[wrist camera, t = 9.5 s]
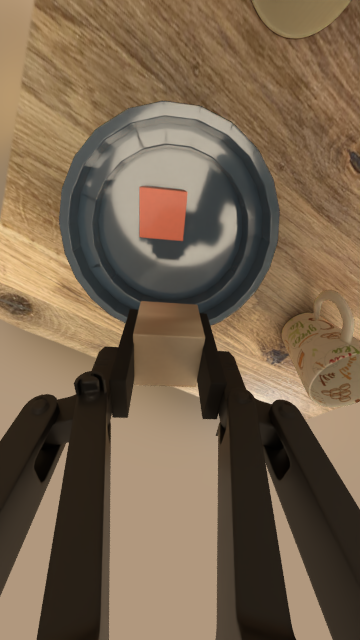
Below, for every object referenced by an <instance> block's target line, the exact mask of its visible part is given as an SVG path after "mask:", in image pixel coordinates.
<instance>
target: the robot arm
mask: <svg viewBox="0 0 360 640" xmlns="http://www.w3.org/2000/svg"><path fill="white" fill-rule="evenodd" d="M138 311H139V310H136V309H130V310H129V314H128V317H127V320H126V324H125V327H124V330H123V334H122V337H121V341H120V344H119V347H104V348H103V349H102V350H101V351H100V352H99V354H98V356H97V359H96V361H95V364H94V366H93V369H92V371H89V372H85V373H83V374H82V375H80V376H79V377H78V378H77V379H76V380H75V382H74V386H75V390H76V395H74V396H71V397H68V398H63V399H58V400H57V399H56V398H55V397H54V396H53V395H49V394H46V395H40V396H37V397H35V398H33V399H31V400H30V401H29V402H28V403H27V404H26V405H25V406H24V407H23V409H22V410H21V412H20V413H19V415H18V416H17V418H16V419H15V421H14V422H13V423H12V425H11V426H10V428H9V429H8V431H7V432H6V434H5V435H4V436H3V438H2V439H1V441H0V595H1V593H2V591H3V588H4V586H5V584H6V581H7V579H8V577H9V574H10V572H11V570H12V567H13V565H14V563H15V561H16V558H17V556H18V553H19V551H20V549H21V547H22V544H23V542H24V540H25V537H26V535H27V533H28V530H29V528H30V526H31V523H32V521H33V519H34V516H35V514H36V512H37V509H38V507H39V505H40V502H41V500H42V497H43V495H44V493H45V491H46V488H47V486H48V484H49V481H50V479H51V477H52V474H53V472H54V470H55V467H56V465H57V463H58V461H59V458H60V456H61V453H62V451H63V449H64V447H65V444H66V443H67V442H69V446H68V452H67V458H66V465H65V470H64V477H63V483H62V489H61V495H60V501H59V507H58V513H57V519H56V525H55V531H54V537H53V543H52V549H51V556H50V562H49V568H48V574H47V580H46V586H45V592H44V598H43V604H42V611H41V616H40V622H39V628H38V635H37V640H109V557H110V556H109V555H110V554H109V553H110V454H111V453H110V452H111V423H110V419H111V415H113V417H119V418H120V417H121V418H127V417H128V413H129V407H130V400H131V395H132V389H133V383H134V343H133V332H134V328H135V324H136V319H137V315H138ZM199 314H200V318H201V322H202V327H203V331H204V335H205V342H204V346H203V351H202V356H201V361H200V367H199V372H198V377H197V383H198V389H199V396H200V403H201V410H202V417H203V419H217V416H218V413H219V417H220V423H219V426H218V430H217V433H216V436H218V542H217V545H218V546H217V550H218V551H217V631H216V640H296V638H295V636H294V633H293V629H292V624H291V619H290V613H289V607H288V601H287V595H286V588H285V582H284V576H283V570H282V564H281V557H280V551H279V545H278V539H277V532H276V526H275V520H274V514H273V508H272V501H271V495H270V489H269V483H268V477H267V471H266V465H267V468H268V471H269V473H270V476H271V478H272V481H273V484H274V486H275V489H276V491H277V494H278V497H279V499H280V502H281V505H282V508H283V510H284V512H285V515H286V518H287V521H288V523H289V526H290V529H291V531H292V534H293V536H294V539H295V542H296V544H297V547H298V549H299V552H300V555H301V557H302V560H303V563H304V565H305V568H306V571H307V573H308V576H309V578H310V581H311V584H312V586H313V589H314V591H315V594H316V597H317V600H318V602H319V605H320V607H321V610H322V613H323V615H324V618H325V621H326V623H327V626H328V628H329V631H330V634H331V636H332V639H333V640H360V509H359V508H358V506H357V504H356V503H355V501H354V499H353V498H352V496H351V494H350V493H349V491H348V490H347V488H346V486H345V485H344V483H343V481H342V480H341V478H340V476H339V475H338V474H337V472H336V470H335V468H334V467H333V465H332V463H331V462H330V460H329V458H328V457H327V455H326V454H325V452H324V450H323V449H322V447H321V445H320V444H319V442H318V440H317V439H316V437H315V436H314V434H313V432H312V431H311V429H310V427H309V426H308V424H307V422H306V421H305V419H304V418H303V416H302V414H301V413H300V411H299V410H298V409H297V407H296V406H295V405H293V404H292V403H290V402H288V401H286V400H276V401H274V402H273V404H269V403H265V402H262V401H259V400H257V399H255V398H254V396H253V395H252V394H251V393H250V392H249V391H248V390H246V388H245V385H244V383H243V380H242V377H241V374H240V372H239V370H238V366H237V365H236V361H235V358H234V357H233V356H232V354H231V353H230V352H226V351H217V347H216V344H215V340H214V337H213V333H212V330H211V327H210V323H209V320H208V316H207V314H205V313H199ZM265 463H266V464H265Z"/></svg>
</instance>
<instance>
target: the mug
mask: <svg viewBox="0 0 360 640" xmlns="http://www.w3.org/2000/svg"><path fill="white" fill-rule="evenodd" d="M326 300H329V301H332V302H333V303H334V304H335V305H336V306H337V308H338V309H339V312H340V314H341V317H342V320H343V327H342V329H340V328H339V327H337V326H336V325H334V324H332V323H331V322H329V321H328V320H326V319H324V318H323V317H321V316H319V315H320V311H321V306H322V303H323V302H324V301H326ZM354 326H355V322H354V317H353V314H352V311H351V309H350V307H349V305H348V303H347V302H346V300H345V299H344V298H343V297H342V296H341V295H340V294H339V293H338V292H336V291H333V290H325V291H323V292H321V293H320V294H319V295H318V297H317V298H316V299H315V302H314V313H302V314H299V315H297V316H295V317H293V318H292V319H290V320H289V321H288V322H287V323H286V324H285V326H284V327H283V330H282V334H281V336H282V340H283V343H284V345H285V347H286V349H287V351H288V353H289V355H290V358H291V360H292V362H293V364H294V366H295V368H296V370H297V373H298V375H299V377H300V379H301V381H302V383H303V385H304V387H305V390H306V392H307V393H308V395H309V397H310V398H311V400H312V401H314V402H315V403H316V404H318V405H321V406H324V407H343V406H348V405H351V404H354V403H357V402H359V401H360V340H358V339H356V338H355V337H353V333H354Z"/></svg>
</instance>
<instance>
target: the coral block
mask: <svg viewBox="0 0 360 640" xmlns="http://www.w3.org/2000/svg"><path fill="white" fill-rule="evenodd" d="M187 194H188V192H187V191H185V190H179V189H170V188H160V187H151V186H141V187H139V217H140V237H143V238H154V239H166V240H177V241H183V235H184V225H185V214H186V204H187Z"/></svg>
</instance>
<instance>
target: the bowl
mask: <svg viewBox="0 0 360 640" xmlns="http://www.w3.org/2000/svg"><path fill="white" fill-rule="evenodd" d="M141 186H151V187H160V188H170V189H179V190H185V191H187V192H188V194H187V204H186V214H185V225H184V235H183V241H177V240H166V239H154V238H143V237H140V217H139V187H141ZM279 211H280V210H279V205H278V200H277V194H276V189H275V184H274V180H273V177H272V175H271V173H270V171H269V170H268V168H267V166H266V164H265V162H264V160H263V158H262V156H261V154H260V152H259V150H258V149H257V147H256V146H255V145H254V144H253V143H252V142H251V141H250V140H249V139H248V138H247V137H246V136H245V135H244V134H243V133H242V132H241V131H240V130H239V129H238V128H237V126H236V125H235V124H233V123H232V122H231V121H229V120H227V119H225V118H223V117H221V116H219V115H217V114H215V113H213V112H212V111H210V110H208V109H206V108H204V107H202V106H201V107H200V106H199V105H192V104H185V103H178V102H170V101H159V102H155V103H150V104H146V105H141V106H137V107H132V108H128V110H127V109H126V110H125V111H123V112H122V113H120V114H118V115H117V116H115V117H114V118H112V119H111V120H109V121H107V122H106V123H104V124H103V125H101V126H100V127H98V128H97V129H96V130H95V131H94V132H93V133H92V135H91V136H90V137H89V138H88V140H87V141H86V142H85V143H84V145H83V146H82V147H81V148H80V150H79V151H78V152H77V153H76V155H75V156H74V158H73V161H72V163H71V166H70V168H69V171H68V174H67V176H66V179H65V182H64V184H63V187H62V192H61V204H60V215H59V224H60V230H61V236H62V241H63V247H64V253H65V255H66V257H67V260H68V262H69V264H70V266H71V269H72V271H73V273H74V275H75V278H76V279H77V280H78V282H79V283H80V284H81V286H82V287H83V288H84V290H85V291H86V292H87V294H88V295H89V296H90V298H91V299H92V300H93V301H94V302H96V303H97V304H98V305H99V306H100V307H101V308H103V309H104V310H105V311H106V312H107V313H109V314H110V315H111V316H113V317H115V318H117V319H119V320H120V321H122V322H124V323H126V320H127V317H128V314H129V310H130V309H136V310H139V306H140V302H141V301H148V302H163V303H178V304H194V305H198V309H199V313H205V314H207V316H208V320H209V323H210V326H211V325H214V324H216V323H219V322H221V321H222V320H224V319H225V318H227V317H228V316H230V315H231V314H233V313H234V312H236V311H237V310H239V308H241V307H242V305H243V304H244V303H245V302H246V301H247V300H248V299H249V298H250V297H251V296H252V295H253V294H254V293H255V292H256V290H257V289H258V287H259V285H260V284H261V282H262V280H263V279H264V277H265V275H266V274H267V272H268V270H269V268H270V266H271V262H272V259H273V256H274V253H275V249H276V246H277V243H278V242H277V241H278V232H279V216H280V212H279Z"/></svg>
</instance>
